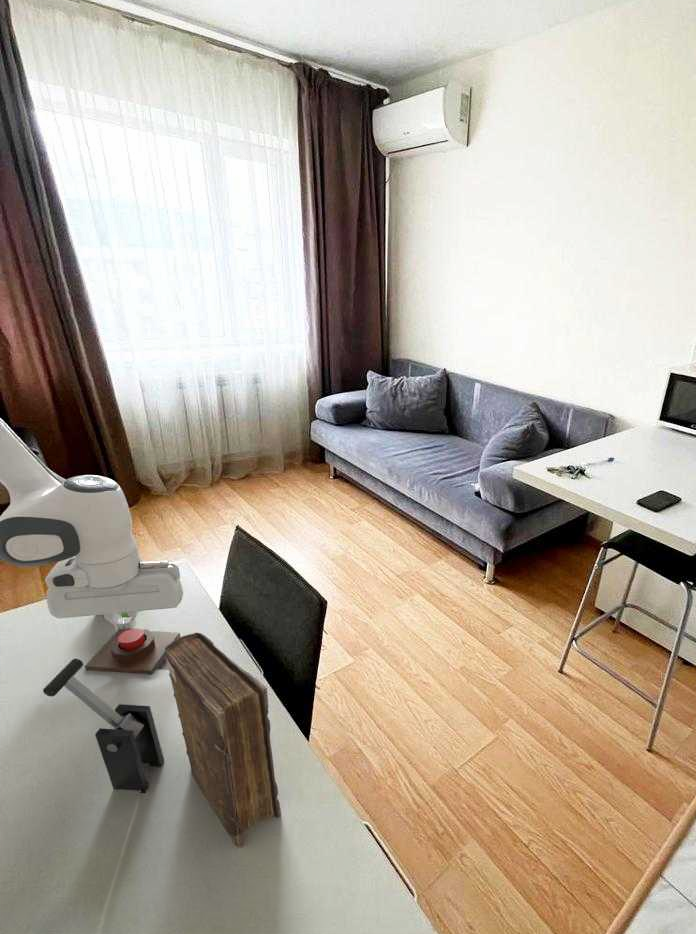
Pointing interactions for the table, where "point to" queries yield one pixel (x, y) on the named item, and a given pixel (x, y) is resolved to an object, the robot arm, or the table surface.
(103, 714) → the lever
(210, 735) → the book
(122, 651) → the button block
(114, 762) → the bracket
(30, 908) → the table surface
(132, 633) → the button
